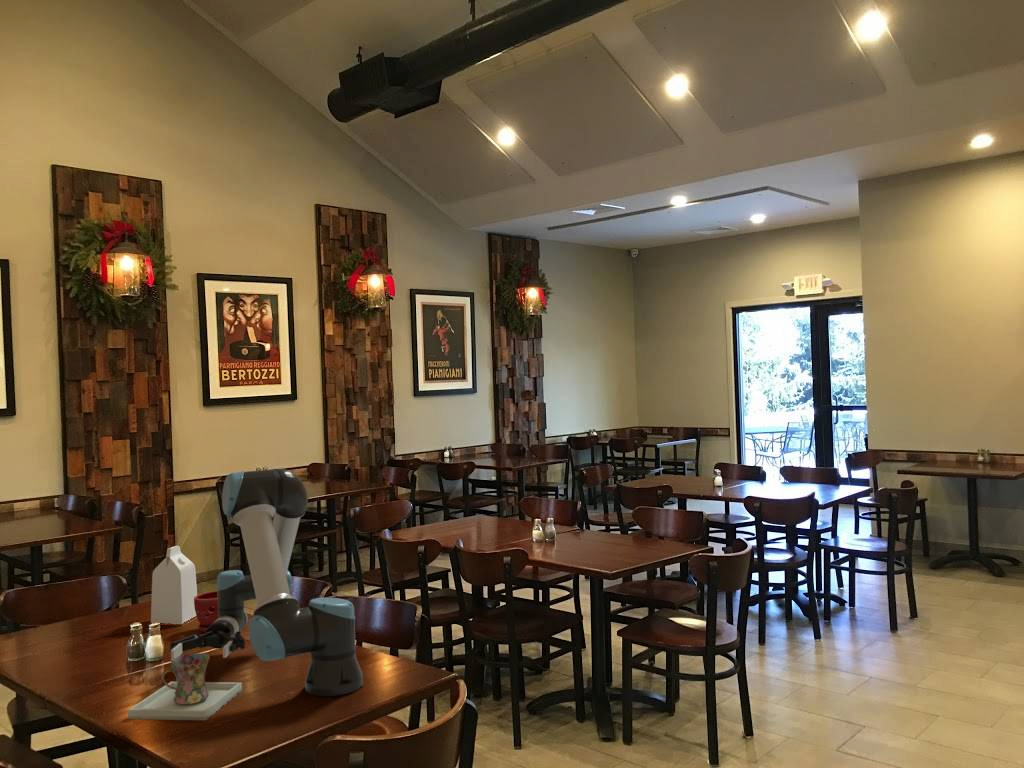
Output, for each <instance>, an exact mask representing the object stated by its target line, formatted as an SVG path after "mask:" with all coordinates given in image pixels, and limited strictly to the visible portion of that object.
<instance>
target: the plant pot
mask: <svg viewBox="0 0 1024 768" xmlns="http://www.w3.org/2000/svg"><path fill="white" fill-rule="evenodd" d="M194 607H195V612H196V616H197V618H196V619H197V621H198V622H199V625H197V627H198V630H199V631H201V632H203V633H205V632H206V630H207V629H208V627H209V626H210V625H211V624H213V623H214V622H215V621H216V620H217V619H218V595H217V590H214V591H208V592H204V593H199V594H197V596H195V597H194Z"/></svg>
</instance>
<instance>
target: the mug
mask: <svg viewBox="0 0 1024 768" xmlns="http://www.w3.org/2000/svg"><path fill="white" fill-rule="evenodd" d="M209 660H210V656H209V654H207V653H201V652H200V653H197V652H195V653H188V654H181V655H180V656H179V657H176V658H174V659H173V660H171V659H170V664H171V666H172V669H167V670H164V672H163V673H162V674H161V680H162V682H163V684H164V686H165V685H166V686H168V687H169V688H171V689H175V690H176V691H175V692H174V693H175V696H174V699H173V700H174V702H176V703H178V704H193V703H197V702H200V701H203V700H204V699H206V698H207V697H208V696H209V693H208V691H207V689H206V685H205V682H206V679H205V678H206V670H207V669H206V668H207V666H208V663H209ZM169 672H172V673H173V674H174V676H175V678H176V682H177V688H174V687H171V686H169V685H168V683H167V682H166V680H165V675H166V674H167V673H169Z"/></svg>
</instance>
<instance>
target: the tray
mask: <svg viewBox="0 0 1024 768" xmlns="http://www.w3.org/2000/svg"><path fill="white" fill-rule="evenodd" d="M167 684H168V685H169V686H171V687H174V688H177V681H170V682H169V683H167ZM205 685H206V689H207V691H208V693H209V696H208V697H207V698H206V699H204V700H203V701H200V702H197V703H193V704H178V703H176V702H174V700H173V699H174V696H175V693H174V692H175V691H176V690H175V689H171V688H169V687H168V686H166V685H165V684H164V685H163V686H162V687H161V688H159V689H157V690H156V691H155V692H153V693H151V694H150V695H148V696H147V697H146V698H143V700H141V701H139V702H138V703H137V704H135V705H133V706H132V707H130V708H128V709H127V719H128V720H161V721H162V720H164V721H165V720H167V721H168V720H169V721H170V720H171V721H206V720H208V719H209V718H210V717H212V716H213V715H214V714H215V713H217V712H218V711H219V710H220V709H222V708H223V707H224V706H225V705H227V704H228V703H229V702H230V701H231V700H232V698H233V697H234V698H236V697H237V696H238V695H239V694H240V693H241V692H242V691H243V683H242V682H234V681H233V682H230V681H229V682H226V681H225V682H221V681H217V682H216V681H213V682H212V681H211V682H210V681H205ZM238 693H239V694H238ZM237 694H238V695H237ZM234 698H233V699H234ZM228 701H229V702H228ZM227 702H228V703H227ZM223 705H224V706H223ZM222 706H223V707H222ZM221 707H222V708H221ZM216 711H217V712H216ZM211 715H212V716H211Z"/></svg>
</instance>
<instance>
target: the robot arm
mask: <svg viewBox="0 0 1024 768" xmlns="http://www.w3.org/2000/svg"><path fill="white" fill-rule="evenodd" d="M221 493H222V495H221V496H222V497H221V498H222V499H221V506H222V511H223V514H224V515H225V516H230V517H232V522H233V523H234V524H235V525H237V526H239V528H240V530H241V536H242V540H243V544H244V549H245V554H246V559H247V562H248V567H249V572H250V574H248V575H247V574H245V575H244V573H243V571H242V570H238V569H233V570H230V569H229V570H225V571H222V572H220V573H219V574H218V575H217V582H216V583H217V584H216V585H217V586H216V591H217V595H218V619H217V620H216V621H215V622H214V623H213V624H211V625H210V626H209V627H208V629H207V630H206V632H204V633H203V634H198V636H197V633H192V634H190V635H188V636H186V637H183V638H180V639H177V640H175V641H172V642H170V643H169V648H170V649H169V650H170V651H169V652H170V657H171V659H170V661H171V660H173V659H174V658H176V657H179V656H182V655H183V652H186V651H189V650H190V651H191V650H193V649H196V648H200V649H203V648H206V647H211V648H213V649H222V658H223V659H226V658H227V657H229V656H230V654H232V653H233V652H235V651H237V650H238V649H240V650H245V649H246V644H245V643H246V640H245V638H244V637H243V636H242V635H241V632H243V631H244V630H245V627H246V626H247V624H248V632H249V635H248V636H249V640H250V644H251V647H252V649H253V651H254V653H255V655H256V656H257V657H258V658H259V659H260V660H261V661H264V662H270V661H271V662H272V661H282V660H283V659H287V658H292V657H296V656H301V655H308V654H310V657H311V658H310V663H309V666H308V669H307V673H306V676H305V680H304V687H305V688H304V689H305V692H306V693H308V694H309V695H311V696H316V697H335V696H337V697H338V696H343V695H346V694H350V693H354V692H356V691H357V690H360V689H361V688H362V687H361V686H364V676H363V675H364V674H363V672H362V669H361V667H360V664H359V661H358V658H357V654H356V615H355V607H354V606H355V605H354V604H353V603H352V602H351V601H349V600H348V599H345V598H338V597H316V598H312V599H310V600H309V603H308V606H305V607H300V603H299V600H298V598H296V597H294V596H292V595H291V591H292V588H293V578H292V574H291V572H290V571H289V570H288V569H289V565H290V561H291V557H292V553H293V549H294V545H295V540H296V537H297V533H298V529H299V525H300V521H301V518H302V517H303V516H304V515H305V514H306V512H307V507H308V503H309V501H308V500H309V498H308V491H307V487H306V486H305V483H304V482H303V480H301V478H300V477H299V476H298V475H297V474H296V473H294V472H292V471H291V470H289V469H285V468H274V469H262V470H249V471H245V470H241V471H237V472H231V473H229V474H227V476H226V478H225V480H224V482H223V486H222V492H221ZM253 600H256V603H257V606H256V607H255V609H254V610H253V612H252V613H253V616H252V617H251V618H250V619H249V618H248V613H247V612H246V611H245V601H253ZM248 620H249V622H248ZM360 687H361V688H360Z"/></svg>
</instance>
